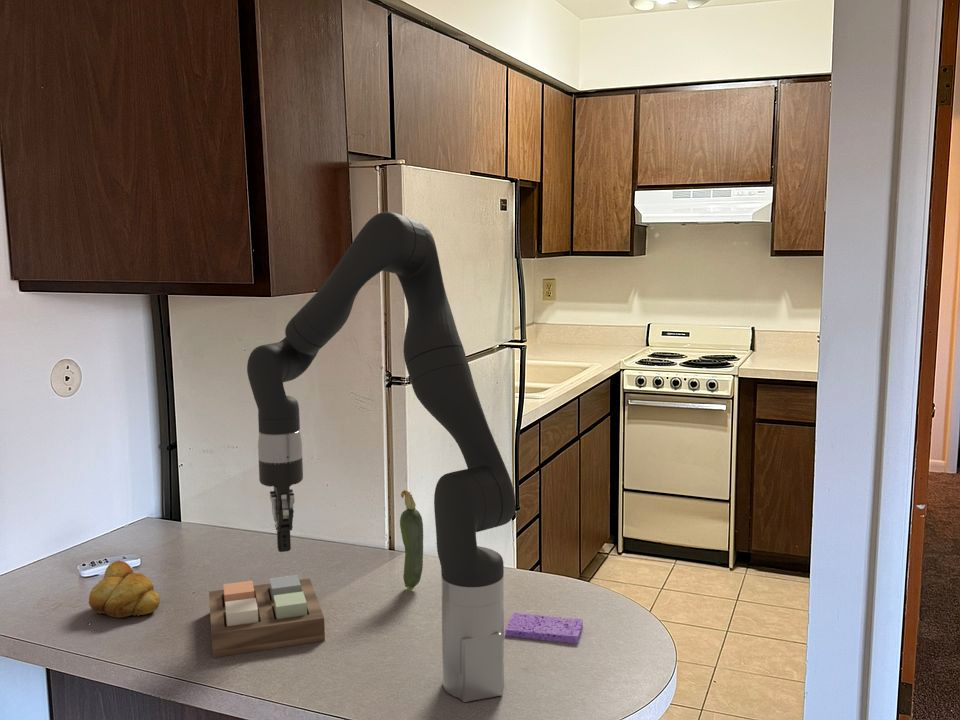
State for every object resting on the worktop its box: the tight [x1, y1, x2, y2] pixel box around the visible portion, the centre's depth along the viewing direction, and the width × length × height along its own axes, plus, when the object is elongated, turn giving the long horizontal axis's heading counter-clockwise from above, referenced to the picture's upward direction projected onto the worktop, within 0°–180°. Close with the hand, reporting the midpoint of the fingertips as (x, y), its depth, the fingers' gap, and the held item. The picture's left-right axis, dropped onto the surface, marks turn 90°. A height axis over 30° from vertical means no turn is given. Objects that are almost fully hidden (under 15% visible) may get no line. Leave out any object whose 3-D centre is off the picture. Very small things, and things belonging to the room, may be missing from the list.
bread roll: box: [88, 560, 161, 618], centre depth 155 cm, size 13×10×8 cm
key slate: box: [269, 574, 301, 601], centre depth 153 cm, size 5×5×3 cm
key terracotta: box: [222, 580, 255, 603], centre depth 150 cm, size 5×5×3 cm
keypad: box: [208, 578, 326, 659], centre depth 148 cm, size 18×18×4 cm
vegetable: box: [399, 489, 424, 591], centre depth 162 cm, size 4×4×20 cm
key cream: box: [225, 598, 258, 626], centre depth 143 cm, size 5×5×3 cm
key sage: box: [274, 591, 307, 619], centre depth 145 cm, size 5×5×3 cm
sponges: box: [504, 611, 584, 644], centre depth 146 cm, size 7×13×2 cm, turn 75°
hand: (284, 550), depth 152 cm, fingers closed
